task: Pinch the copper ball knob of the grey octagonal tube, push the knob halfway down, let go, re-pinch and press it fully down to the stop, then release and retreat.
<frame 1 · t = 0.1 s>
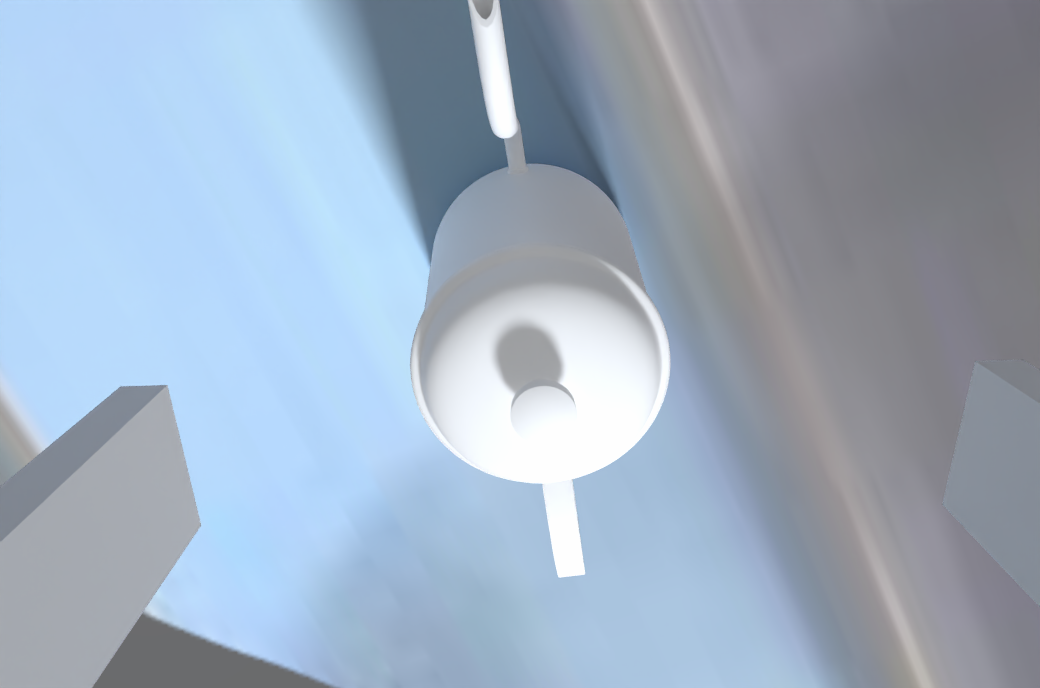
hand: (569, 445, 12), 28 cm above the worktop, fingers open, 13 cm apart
coffeepot: (530, 250, 40), on the worktop
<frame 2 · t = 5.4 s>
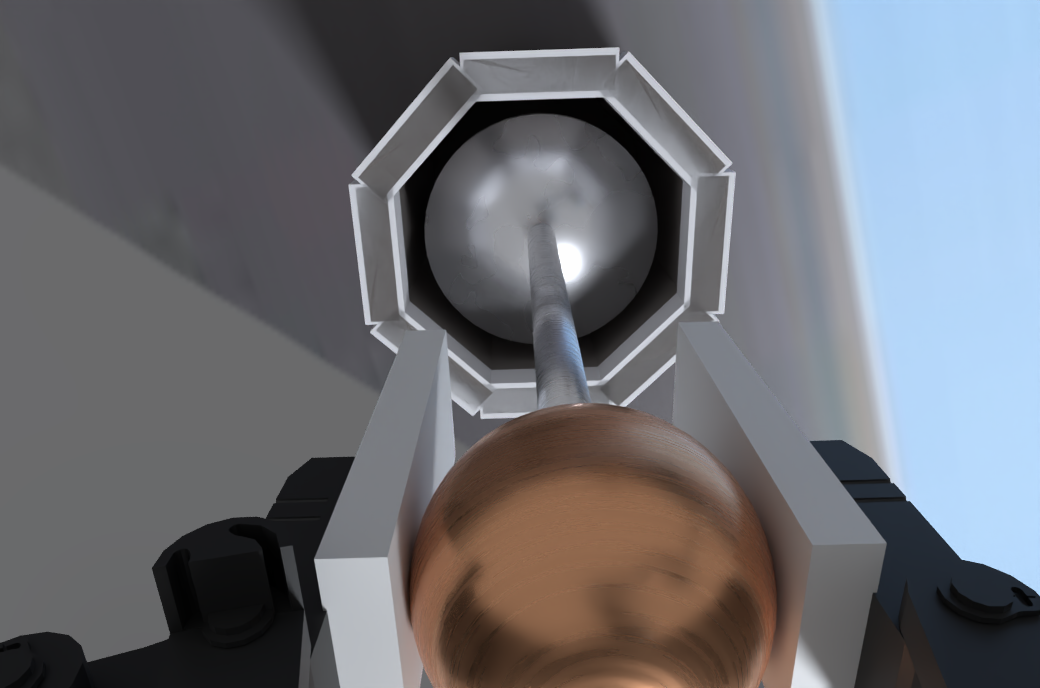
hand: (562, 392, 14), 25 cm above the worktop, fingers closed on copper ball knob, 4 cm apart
grey octagonal tube: (533, 182, 37), on the worktop
copper ball knob: (554, 335, 17), point 22 cm above the worktop, slide at 0.0 cm, touching gripper
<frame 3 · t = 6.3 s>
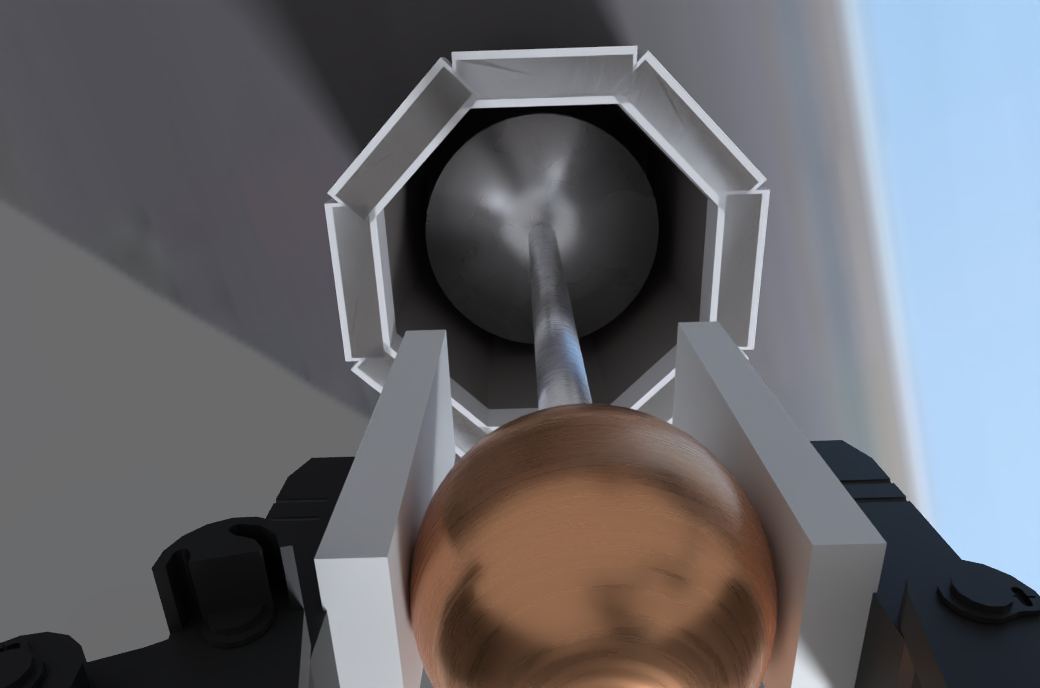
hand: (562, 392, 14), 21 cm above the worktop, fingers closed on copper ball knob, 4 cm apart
grey octagonal tube: (536, 193, 34), on the worktop
copper ball knob: (555, 335, 16), point 18 cm above the worktop, slide at 3.2 cm, touching gripper
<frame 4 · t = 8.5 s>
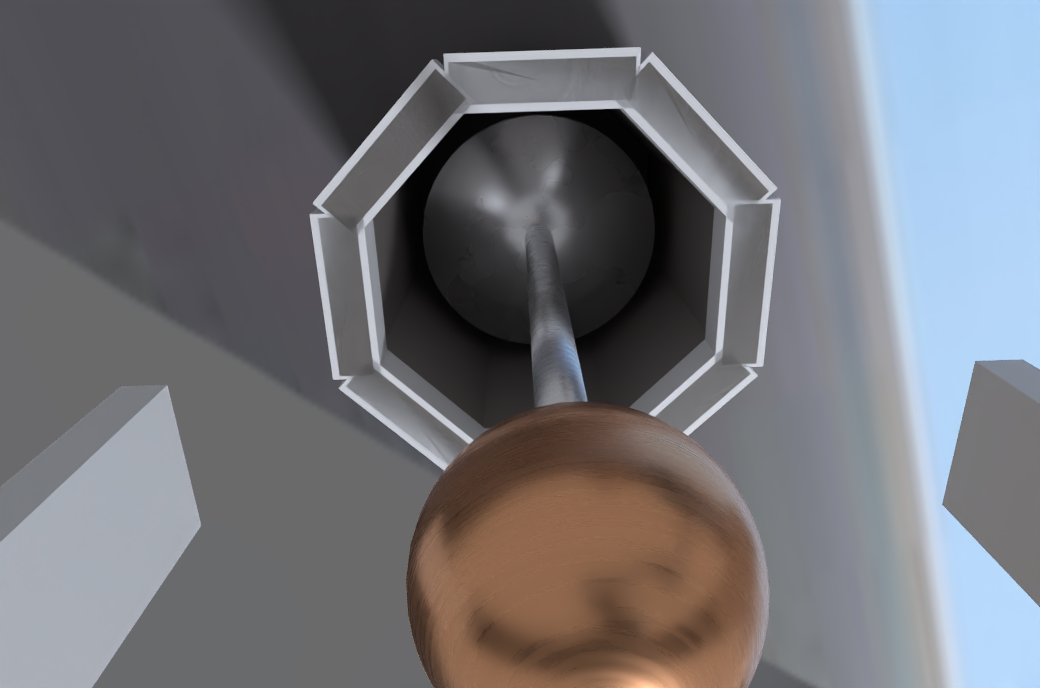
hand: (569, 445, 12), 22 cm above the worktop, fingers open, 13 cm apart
grey octagonal tube: (533, 199, 33), on the worktop
copper ball knob: (551, 335, 17), point 17 cm above the worktop, slide at 4.5 cm
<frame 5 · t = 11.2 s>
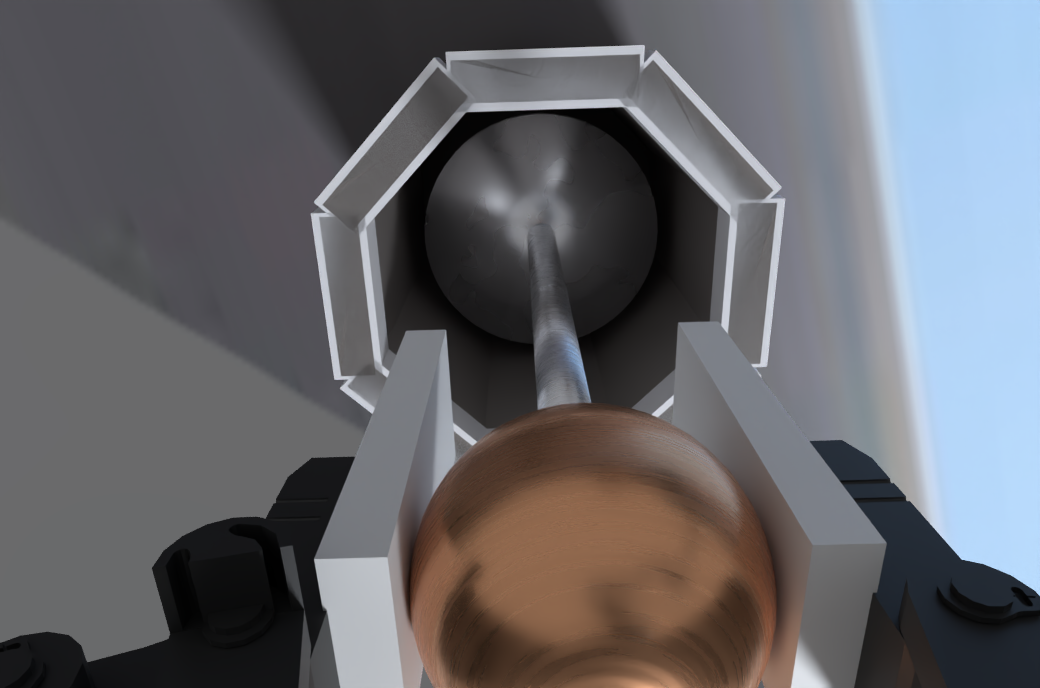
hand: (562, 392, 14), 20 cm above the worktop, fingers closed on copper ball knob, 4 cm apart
grey octagonal tube: (535, 198, 32), on the worktop
copper ball knob: (554, 334, 17), point 17 cm above the worktop, slide at 4.5 cm, touching gripper
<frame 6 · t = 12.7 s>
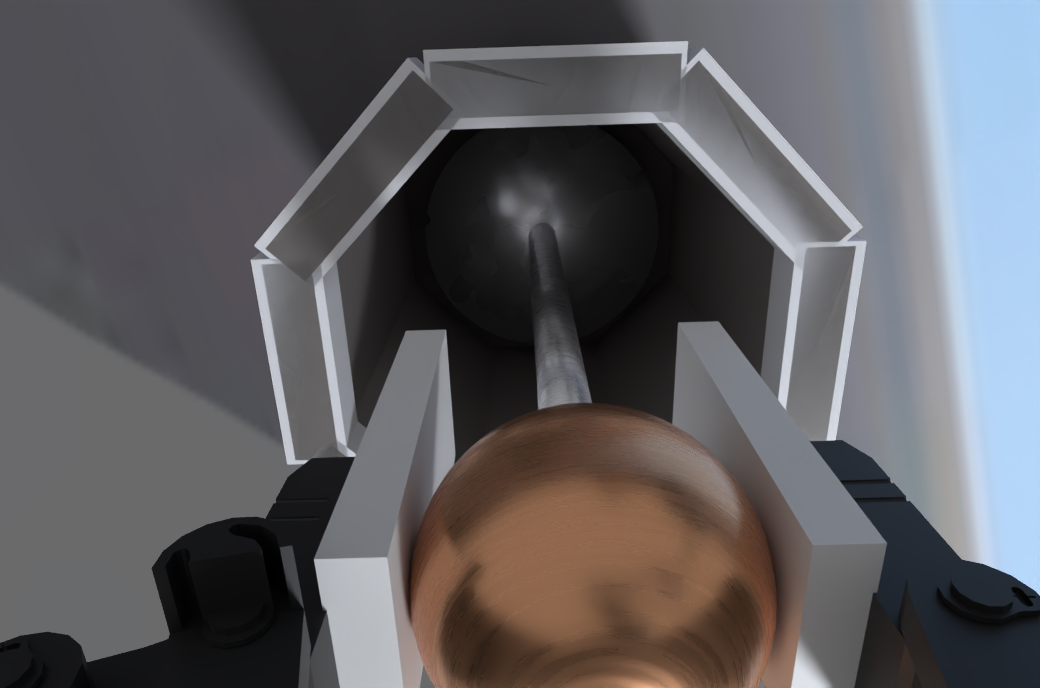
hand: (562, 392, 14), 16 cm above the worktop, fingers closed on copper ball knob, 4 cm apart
grey octagonal tube: (539, 219, 28), on the worktop
copper ball knob: (555, 334, 17), point 13 cm above the worktop, slide at 9.1 cm, touching gripper
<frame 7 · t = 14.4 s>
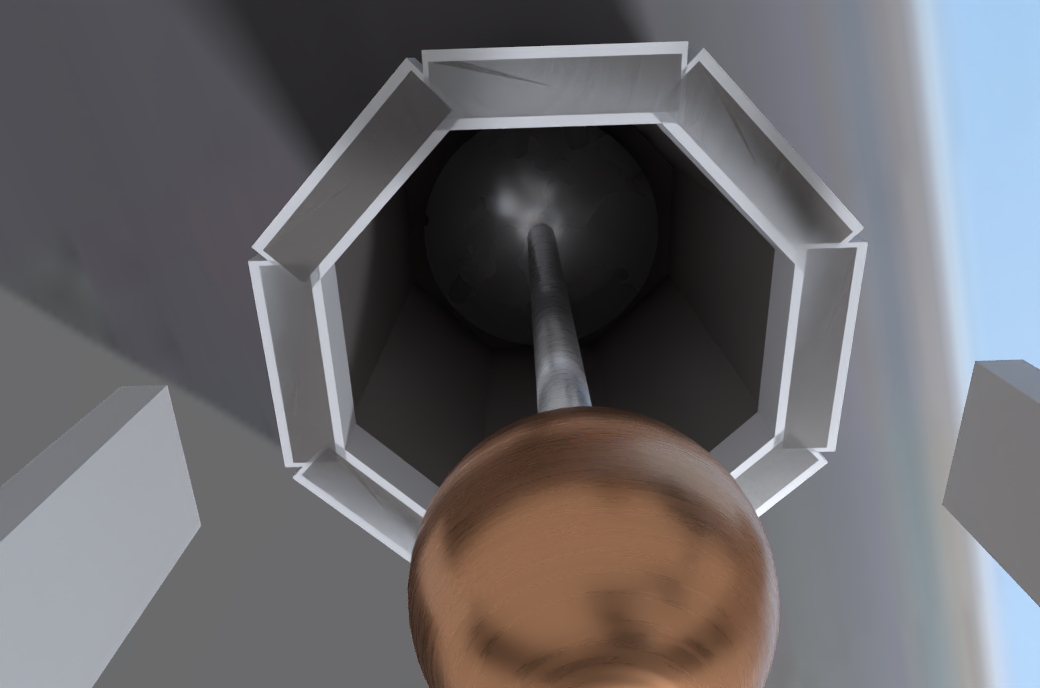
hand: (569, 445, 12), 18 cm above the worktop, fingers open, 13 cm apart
grey octagonal tube: (539, 220, 28), on the worktop
copper ball knob: (554, 336, 16), point 13 cm above the worktop, slide at 9.1 cm
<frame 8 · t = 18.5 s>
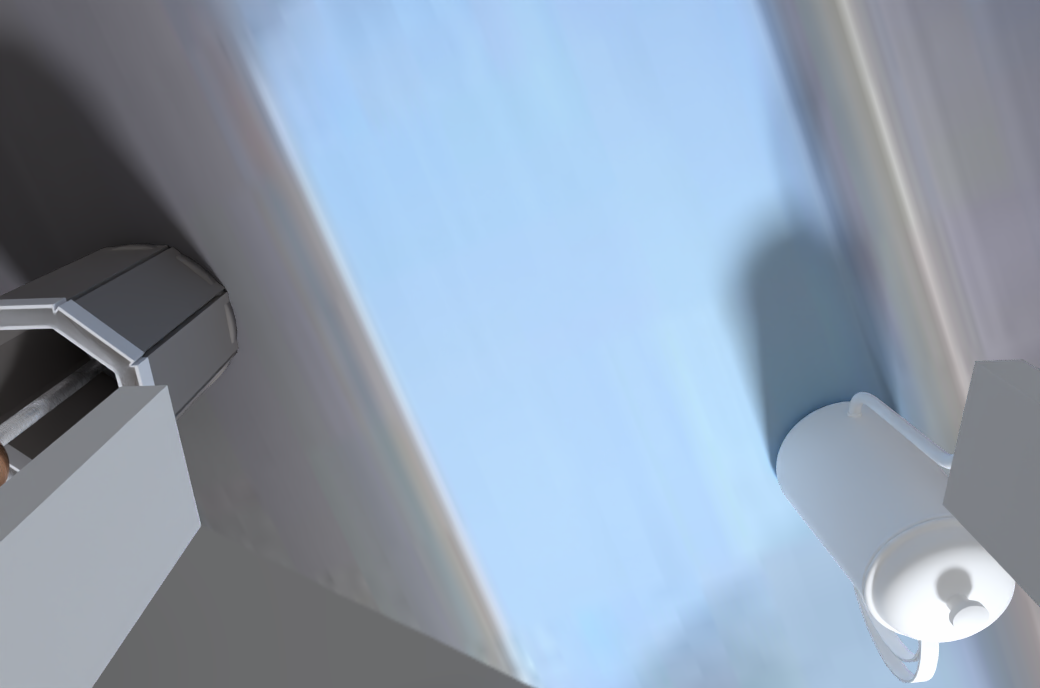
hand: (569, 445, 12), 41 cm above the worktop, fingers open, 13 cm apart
coffeepot: (837, 448, 59), on the worktop
grey octagonal tube: (155, 322, 54), on the worktop
copper ball knob: (56, 395, 43), point 13 cm above the worktop, slide at 9.1 cm
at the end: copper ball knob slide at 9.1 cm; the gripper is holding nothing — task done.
